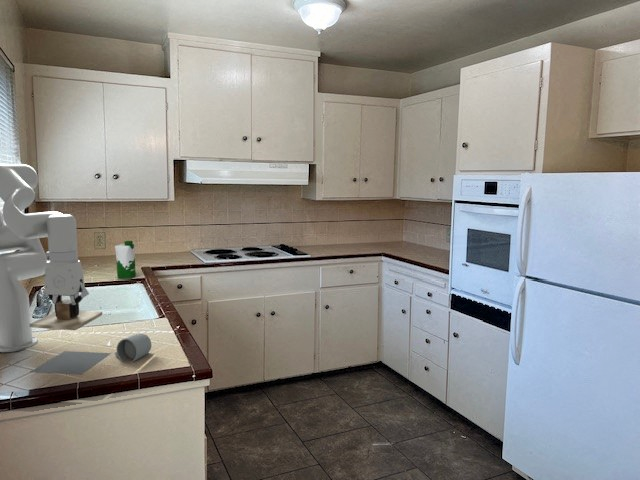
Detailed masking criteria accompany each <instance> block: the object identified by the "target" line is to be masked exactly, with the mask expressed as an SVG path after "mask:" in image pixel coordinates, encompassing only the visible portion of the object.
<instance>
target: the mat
mask: <svg viewBox="0 0 640 480" xmlns="http://www.w3.org/2000/svg"><path fill="white" fill-rule="evenodd" d="M111 354H112V352H94V351H93V352H92V351H74V350H73V351H72V350H70V351H68V350H64V351H62V352H61V353H59V354H57V355H56V356H54V357H52V358H51V359H49V360H48V361H45V362H44V363H42V364H41V365H39V366H37V367H35V368H34V369H32V370H30V371H29V373H41V374H58V375H59V374H61V375H63V374H64V375H79V376H80V375H81V376H82V375H83V374H85V373H86V372H87V371H89V370H90V369H91V368H93V367H94V366H96V365H97V364H98V363H100V362H101V361H103V360H104V359H106V358H107V357H108V356H110V355H111Z"/></svg>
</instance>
